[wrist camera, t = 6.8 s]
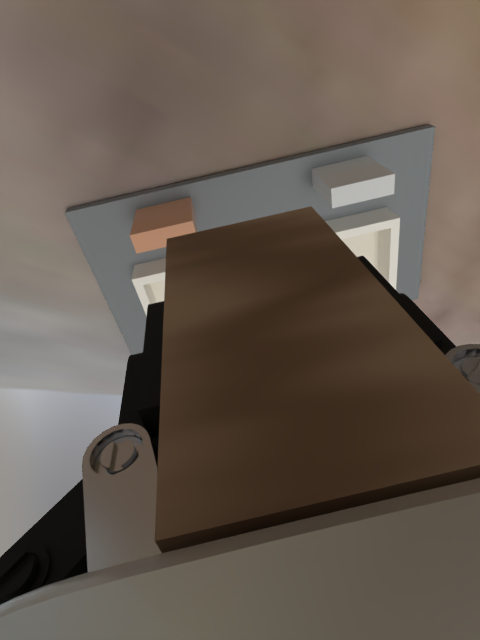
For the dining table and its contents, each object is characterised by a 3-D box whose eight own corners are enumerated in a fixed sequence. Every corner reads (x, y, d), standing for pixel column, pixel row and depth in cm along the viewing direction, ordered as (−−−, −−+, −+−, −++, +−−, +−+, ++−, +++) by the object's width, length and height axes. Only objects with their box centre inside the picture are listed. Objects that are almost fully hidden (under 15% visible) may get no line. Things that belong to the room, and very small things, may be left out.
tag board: (428, 124, 31) (453, 132, 28) (413, 293, 40) (431, 312, 37) (67, 208, 31) (56, 225, 28) (136, 356, 40) (133, 380, 38)
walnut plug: (311, 206, 12) (531, 453, 5) (320, 323, 15) (470, 603, 7) (166, 238, 12) (154, 541, 5) (201, 351, 14) (229, 660, 7)
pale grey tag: (366, 155, 31) (395, 173, 27) (366, 174, 31) (394, 194, 27) (311, 168, 31) (331, 188, 27) (312, 186, 31) (332, 208, 27)
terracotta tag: (191, 196, 31) (192, 220, 27) (195, 213, 32) (197, 239, 28) (136, 209, 31) (129, 235, 27) (142, 226, 32) (136, 253, 28)
